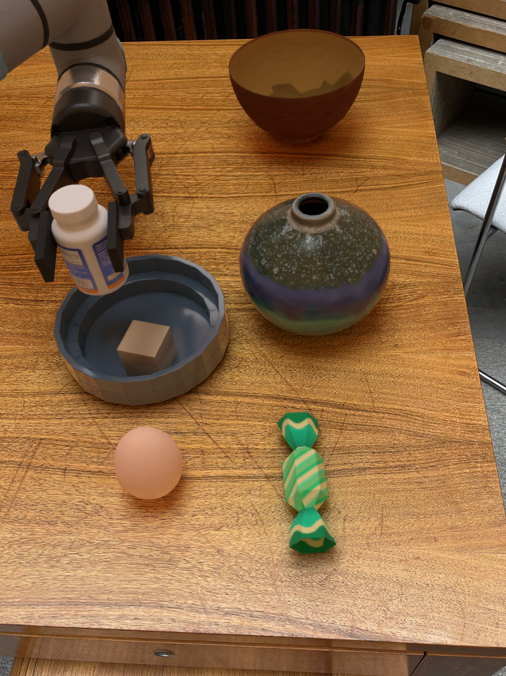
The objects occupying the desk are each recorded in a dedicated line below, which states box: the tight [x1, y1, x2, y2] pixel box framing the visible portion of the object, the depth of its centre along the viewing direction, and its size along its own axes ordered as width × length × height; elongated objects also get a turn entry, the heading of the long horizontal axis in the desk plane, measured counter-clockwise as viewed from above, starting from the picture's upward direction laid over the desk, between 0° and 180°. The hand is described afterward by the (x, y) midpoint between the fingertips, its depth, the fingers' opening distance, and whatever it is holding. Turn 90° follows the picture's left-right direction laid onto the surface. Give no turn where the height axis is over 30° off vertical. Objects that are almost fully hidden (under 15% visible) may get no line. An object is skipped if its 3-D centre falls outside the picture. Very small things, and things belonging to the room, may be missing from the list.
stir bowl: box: [53, 253, 230, 406], centre depth 66 cm, size 17×17×4 cm
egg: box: [112, 426, 184, 500], centre depth 55 cm, size 6×6×8 cm
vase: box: [238, 191, 391, 337], centre depth 64 cm, size 15×15×13 cm
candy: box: [276, 411, 337, 555], centre depth 55 cm, size 12×3×4 cm
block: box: [117, 320, 177, 376], centre depth 64 cm, size 4×4×4 cm
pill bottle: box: [49, 184, 129, 296], centre depth 59 cm, size 5×5×10 cm
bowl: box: [227, 28, 366, 145], centre depth 86 cm, size 18×18×10 cm
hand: (79, 265), depth 55 cm, fingers closed on pill bottle, 5 cm apart
